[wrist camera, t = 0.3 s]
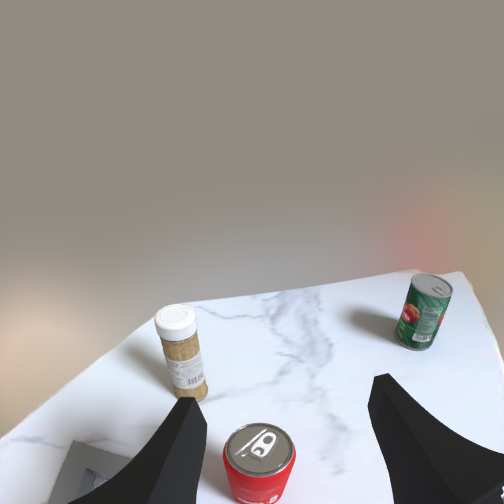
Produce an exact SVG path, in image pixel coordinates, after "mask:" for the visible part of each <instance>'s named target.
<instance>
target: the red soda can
mask: <svg viewBox="0 0 504 504" xmlns="http://www.w3.org/2000/svg"><path fill="white" fill-rule="evenodd" d="M295 457H296V451H295V447H294V444H293V442H292V440H291V438H290V437H289V435H288V434H287V433H286V432H285V431H283V430H282V429H280V428H279V427H277V426H274V425H271V424H267V423H252V424H247V425H245V426H242V427H240V428H239V429H237V430H236V431H235V432H233V433H232V435H231V436H230V437H229V439H228V440H227V442H226V444H225V446H224V449H223V460H224V464H225V468H226V472H227V476H228V480H229V483H230V487H231V491H232V494H233V496H234V498H235V499H236V500H237V501H238V502H239V503H240V504H274V503H276V502H277V501H278V500H279V499H280V497H281V495H282V493H283V491H284V488H285V486H286V483H287V481H288V478H289V475H290V473H291V470H292V467H293V465H294V462H295Z"/></svg>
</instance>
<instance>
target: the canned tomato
mask: <svg viewBox="0 0 504 504" xmlns="http://www.w3.org/2000/svg"><path fill="white" fill-rule="evenodd" d="M452 293H453V288H452V286H451V285H450V284H449V283H448V282H447V281H446V280H444V279H442V278H441V277H438V276H435V275H432V274H426V273H421V274H416V275H414V276H413V277H412V279H411V284H410V287H409V291H408V294H407V297H406V300H405V304H404V307H403V311H402V314H401V316H400V319H399V322H398V325H397V328H396V330H395V337H396V339H397V340H398V342H399V343H400V344H401V345H403V346H404V347H406V348H408V349H411V350H415V351H422V350H426V349H428V348H429V347H430V346H431V345H432V343H433V340H434V338H435V336H436V334H437V331H438V329H439V327H440V324H441V322H442V319H443V317H444V315H445V312H446V310H447V307H448V304H449V302H450V298H451V296H452Z"/></svg>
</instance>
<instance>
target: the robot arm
mask: <svg viewBox="0 0 504 504" xmlns="http://www.w3.org/2000/svg"><path fill="white" fill-rule="evenodd" d="M368 411H369V415H370V419H371V423H372V427H373V430H374V433H375V435H376V438H377V441H378V443H379V446H380V449H381V452H382V454H383V457H384V460H385V463H386V465H387V469H388V472H389V476H390V481H391V487H392V492H393V499H394V504H504V496H503V497H502V498H501V495H502V494H503V492H504V491H503V489H502V487H503V486H504V454H502V453H498V452H495V451H492V450H490V449H487V448H484V447H482V446H480V445H478V444H476V443H474V442H472V441H470V440H468V439H466V438H464V437H462V436H461V435H459V434H457V433H456V432H454V431H453V430H451V429H450V428H448V427H447V426H445V425H444V424H443V423H441V422H440V421H439V420H437V419H436V418H435V417H434V416H432V415H431V414H430V413H429V412H428V411H426V410H425V409H424V408H423V407H422V406H421V405H420V404H419V403H418V402H417V401H416V400H414V399H413V398H412V397H411V396H410V395H409V394H408V393H407V392H406V391H405V390H404V389H403V388H402V387H401V386H400V385H399V384H398V383H397V381H396V380H395V379H394V378H393V377H392V376H391V375H390V374H388V373H387V374H383V375H379V376H375V377H374V381H373V385H372V390H371V394H370V398H369V402H368ZM206 437H207V423H206V421H205V418H204V416H203V414H202V412H201V410H200V408H199V405H198V403H197V401H196V399H195V397H180V398H179V399H178V401H177V402H176V404H175V405H174V407H173V408H172V410H171V411H170V413H169V414H168V416H167V417H166V419H165V420H164V422H163V423H162V424H161V426H160V427H159V428H158V430H157V431H156V432H155V434H154V435H153V436H152V438H151V439H150V440H149V441H148V443H147V444H146V445H145V446H144V447H143V448H142V450H141V451H140V452H139V453H138V454H137V455H136V456H135V457H134V458H133V459H132V460H131V461H130V462H129V463H128V464H127V465H126V466H125V467H124V468H123V469H122V470H120V471H119V472H118V473H117V474H116V475H114V476H113V477H112V478H111V479H109V480H108V481H107V482H105V483H104V484H102V485H101V486H99V487H97V488H96V489H94V490H93V491H91V492H89V493H88V494H86V495H84V496H82V497H80V498H78V499H75V500H73V501H71V502H69V503H67V504H196V494H197V487H198V482H199V477H200V472H201V467H202V462H203V457H204V452H205V447H206Z"/></svg>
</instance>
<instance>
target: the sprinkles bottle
mask: <svg viewBox="0 0 504 504" xmlns="http://www.w3.org/2000/svg"><path fill="white" fill-rule="evenodd" d="M154 321H155V326H156V330H157V333H158V335H159V336H160V339H161V343H162V346H163V352H164V355H165V359H166V363H167V366H168V369H169V373H170V376H171V379H172V382H173V384H174V387H175V393H176V395H177V397H178V398H180V397H195V399H196V401H197V402H200V401H201V400H203V399H204V398H205V397H206V395H207V393H208V387H207V385H206V381H205V374H204V369H203V363H202V357H201V351H200V347H199V342H198V335H197V319H196V314H195V311H194V310H193V309H192V308H191V307H189V306H187V305H183V304H173V305H169V306H166V307H163V308H162V309H160V310H159V311H158V312H157V313H156V315H155V318H154Z"/></svg>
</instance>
